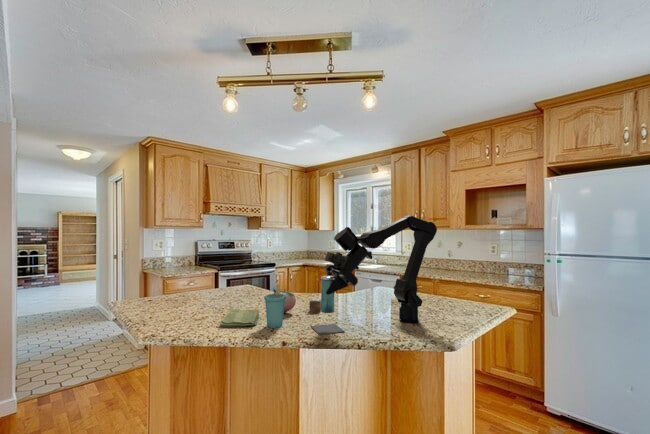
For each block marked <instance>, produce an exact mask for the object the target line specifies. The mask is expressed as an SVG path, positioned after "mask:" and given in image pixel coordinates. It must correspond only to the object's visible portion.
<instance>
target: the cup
mask: <svg viewBox="0 0 650 434" xmlns="http://www.w3.org/2000/svg"><path fill="white" fill-rule="evenodd" d="M272 289H273V293H272V294H270V293H268V294H265V295H263V296H264V300H265V303H264V304H265V313H266V314H265V315H266V326H267V327H268V328H269V327H271V329H277V328H276V327H278V328H281V327H283V320H284V314H285V313H284V303H285V299H286V296H285V295H283V294H280V291H281V287H280V285H279V284H278V283H277V284H276V285H275V286H273V288H272Z"/></svg>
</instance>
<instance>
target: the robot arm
mask: <svg viewBox="0 0 650 434" xmlns="http://www.w3.org/2000/svg"><path fill="white" fill-rule="evenodd" d="M406 229H409V230H410V231H413V238H414V239H413V240H414V243H413V246H412V249H411V253H410V255H409V258H408V262H407V265H406V268H405V269H404V270H405V271H404V274H403V276H402V277H401V278H396V280H395V284H394V286H393V294H394V296H395V298H396V300H397V302H398V303H399V304H400V306H399V308H398V310H399V314H398V316H399V317H398V318H399V320H400V323H410V324H419V307H422V304H423V299H421V297H419V295H418V284H417V279H418V275H419V272H420V269H421V266H422V263H423V260H424V256H425V254H426V250H427V247H428V246H429V244H430V243H431V242H432V241H433V240H434V239H435V236H436V234H437V232H438V228H437V226H436V223H434V222H432V221H427V220H424V219H421V218H417V217H416V216H414V215H404V216H403V217H401V218H400V219H398V220H396V221H393V222H391V223H389V224H387V225H385V226H384V227H381V228H379V229H374V230H370V231H369V230H368V231H366V232H363V233H362V234H361V235H359V236H357V235H356V234H355V233H354V232H353V230H352V229H351V228H350V227H349V226H346V227H345V228H344V229H342V230H340V231H338V232H337V233H336V234H335V236H334V237H333V240H334V241H335V242H336V243H337V244H338V245H339V247H340V248H341V249H342V250H343V251H345V252H346V251H348V253H346V255H343V253H341V252H338V251H337V252H334V253H333V252H331V251H327V252H326V255H325V257H324V261H326V262H329V264H326V265H325V266H324V267H323V269H324V270H325V272H326V276H335V279H334V281H333V282H332V284H331V285H330V287H329V288H328V290H327V291H326V294H327V295H329V294H331V293H333V292H334V293H336V292H338V291H339V290H340V291H341V290H342V289H345V288H347V287H350V286H351V287H354V288H355V287H356V286H357V284H358V283H359V279H358V277H357V276H356V275H355V274H354V271H358V270H359V269H360V267H359V266H360V264H362V262H364V260H365V259H369V260H373V252H372V251H370V250H368V249H374V250H375V249H377V248H379V247H380V246H381V245H383V244H384V243H385V241H386V240H387V239H389V238H390V237H391V238H392V236H394V235H396V234H399V233H401V232H403V231H404V230H406Z"/></svg>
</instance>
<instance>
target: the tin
mask: <svg viewBox="0 0 650 434" xmlns="http://www.w3.org/2000/svg"><path fill="white" fill-rule="evenodd" d="M320 279H321V280H320V284H321V285H320V287H321V288H320V292H321V293H320V294H321V295H320V299H321V311H320V313H323V314H332V313H335V292H333V293H331V294H329V295H327V294H326V291H327V290H328V288H329V287H330V285H331V284H332V282H333V281H334V279H335V276H327V275H322V276H320Z"/></svg>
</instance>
